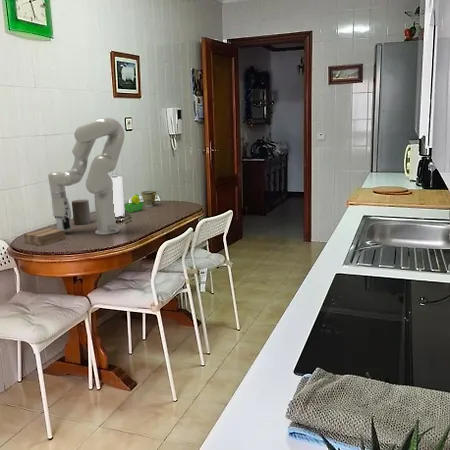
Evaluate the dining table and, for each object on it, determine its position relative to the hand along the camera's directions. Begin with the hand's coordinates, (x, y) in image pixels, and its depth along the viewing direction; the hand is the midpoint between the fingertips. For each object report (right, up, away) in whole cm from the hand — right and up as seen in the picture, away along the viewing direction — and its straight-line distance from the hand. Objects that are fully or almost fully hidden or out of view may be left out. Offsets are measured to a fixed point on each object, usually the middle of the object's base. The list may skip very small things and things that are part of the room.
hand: (64, 228), depth 267 cm
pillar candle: (+3, +3, +25) cm, 25 cm away
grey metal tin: (0, -1, 0) cm, 1 cm away
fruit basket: (+28, +11, +55) cm, 63 cm away
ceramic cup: (+37, +14, +69) cm, 80 cm away
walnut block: (-5, -7, -14) cm, 17 cm away
